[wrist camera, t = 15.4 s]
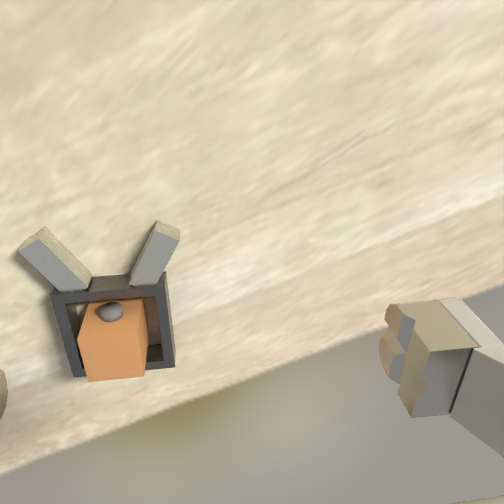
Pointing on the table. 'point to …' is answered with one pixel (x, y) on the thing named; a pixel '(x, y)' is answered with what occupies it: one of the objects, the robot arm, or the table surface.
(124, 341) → the block
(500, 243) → the table surface
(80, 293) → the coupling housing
